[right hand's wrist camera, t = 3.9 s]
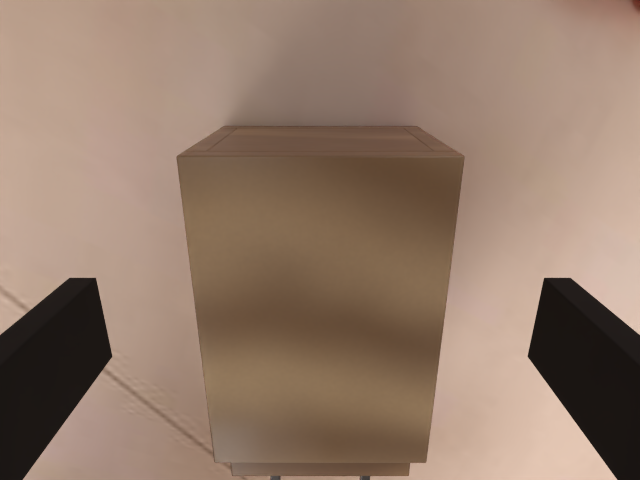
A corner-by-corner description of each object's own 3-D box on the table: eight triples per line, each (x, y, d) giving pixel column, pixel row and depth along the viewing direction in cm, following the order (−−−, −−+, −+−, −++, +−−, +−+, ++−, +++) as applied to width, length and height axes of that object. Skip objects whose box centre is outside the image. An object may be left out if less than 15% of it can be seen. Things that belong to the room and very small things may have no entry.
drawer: (386, 447, 34) (402, 539, 27) (254, 447, 34) (238, 539, 27) (406, 187, 26) (435, 228, 20) (234, 187, 26) (205, 228, 20)
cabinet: (398, 358, 32) (426, 463, 24) (242, 358, 32) (214, 463, 24) (417, 126, 26) (465, 155, 17) (222, 126, 26) (175, 155, 17)
